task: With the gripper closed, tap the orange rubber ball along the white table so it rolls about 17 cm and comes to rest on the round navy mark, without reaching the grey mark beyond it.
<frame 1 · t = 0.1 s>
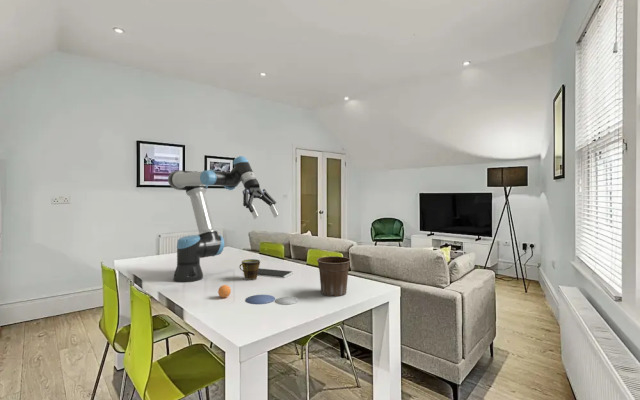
hand: (266, 216, 164), 36 cm above the table, fingers open, 13 cm apart
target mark: (260, 299, 148), on the table
dark grey flat slab: (269, 275, 197), on the table
plant pot: (333, 293, 159), on the table
ceramic cup: (248, 279, 183), on the table
ball: (224, 291, 150), on the table
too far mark: (286, 300, 146), on the table
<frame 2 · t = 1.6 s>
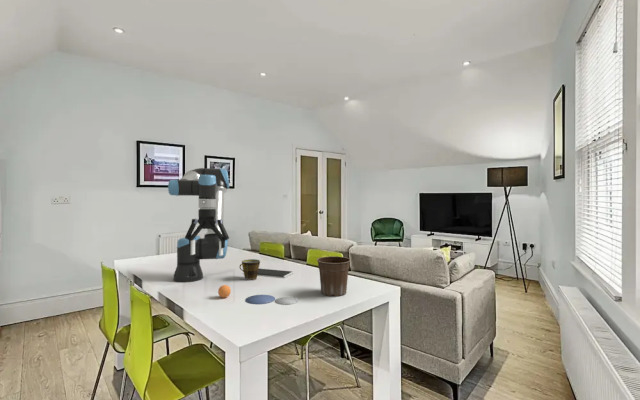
hand: (206, 254, 152), 19 cm above the table, fingers open, 13 cm apart
nothing on the table moved.
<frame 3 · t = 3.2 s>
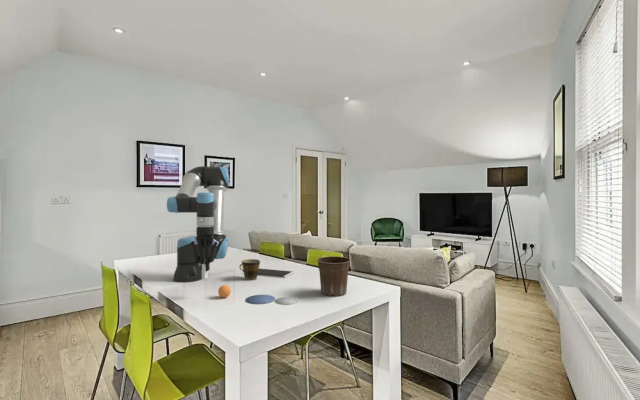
hand: (204, 277, 151), 9 cm above the table, fingers closed
nothing on the table moved.
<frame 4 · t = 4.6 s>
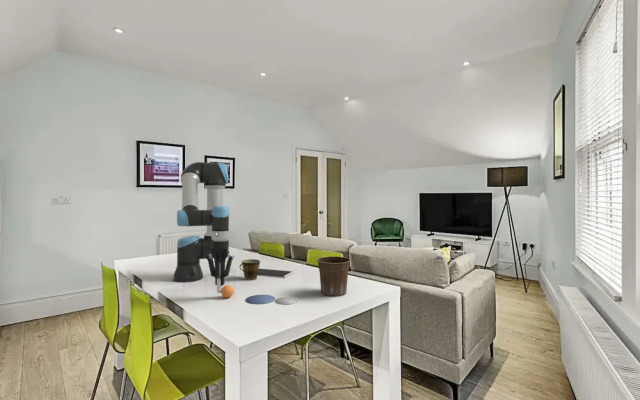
hand: (219, 292, 150), 2 cm above the table, fingers closed
ball: (227, 291, 150), on the table, touching gripper
everything else where it was.
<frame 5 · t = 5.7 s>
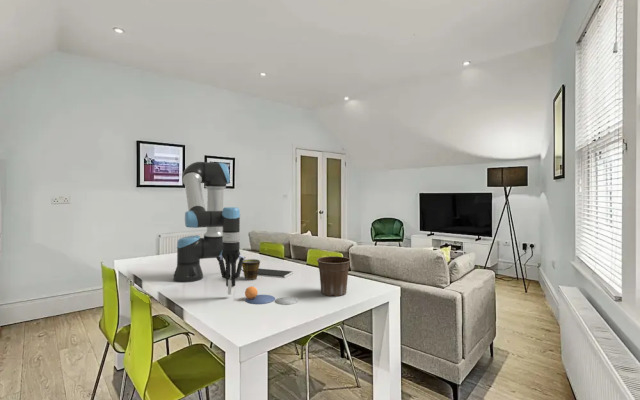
hand: (230, 293, 150), 2 cm above the table, fingers closed
ball: (251, 292, 148), on the table
everything else where it was.
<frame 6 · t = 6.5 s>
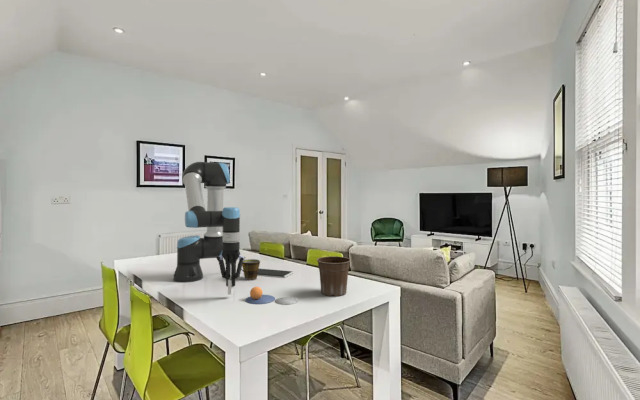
hand: (230, 293, 150), 2 cm above the table, fingers closed
ball: (256, 293, 148), on the table
everything else where it was.
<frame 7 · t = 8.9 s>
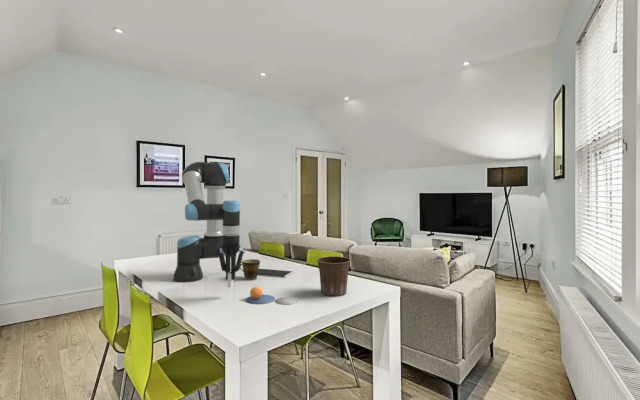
hand: (230, 286, 150), 5 cm above the table, fingers closed
nothing on the table moved.
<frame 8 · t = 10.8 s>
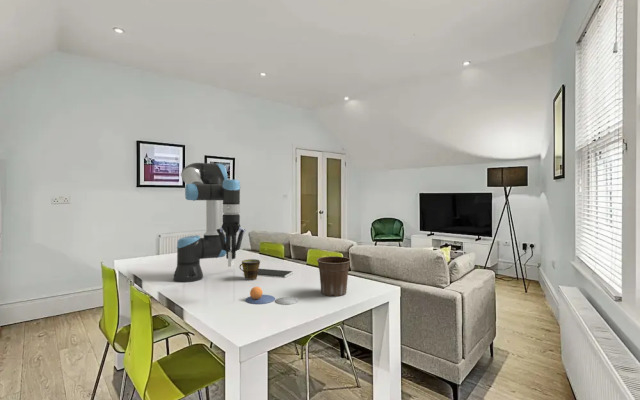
hand: (230, 265, 150), 14 cm above the table, fingers closed
nothing on the table moved.
at the end: ball 1.9 cm from the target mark (horizontally); ball at rest at the end (0.0 cm/s); ball moved 15.1 cm from its start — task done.
